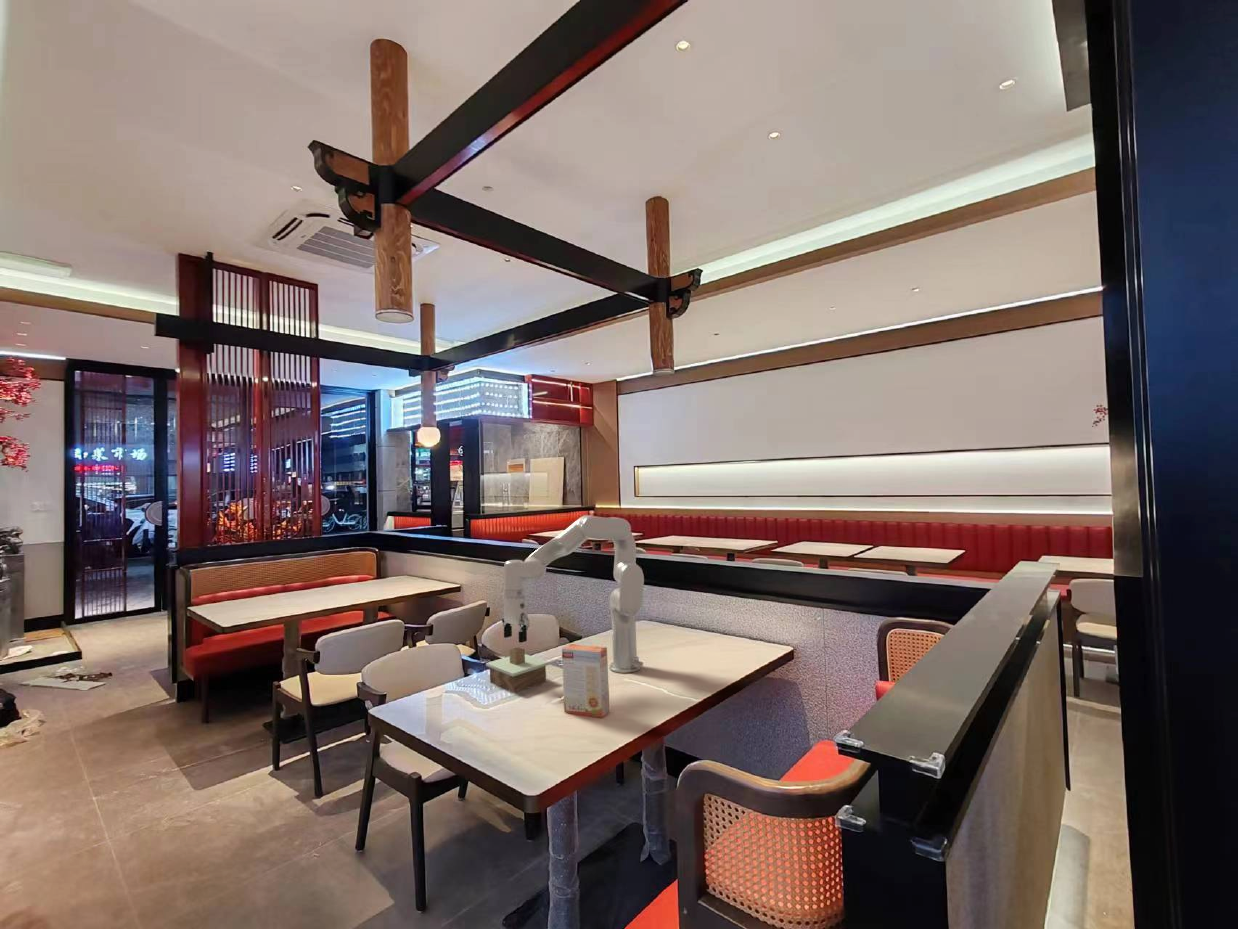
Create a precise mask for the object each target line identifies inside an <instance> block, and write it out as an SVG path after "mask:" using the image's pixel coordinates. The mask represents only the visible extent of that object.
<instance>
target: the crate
mask: <svg viewBox="0 0 1238 929" xmlns="http://www.w3.org/2000/svg"><path fill="white" fill-rule="evenodd" d="M546 667H547V666H544V667H541V668H538V669H535V670H532V671H528V672H525V673H522V674H519V675H516V676H510V675H508V674H505V673H503V672H500V671H498V670H495V669H493V668H490V667H489V683H491V684H493V685H495V686H498V687H500V688H502V689H505V690H506V691H509V692H512V693H514V694H515V693H518V692H521V691H524V690H527V689H529V688H531V687H532V688H533V687H535V686H538V685H540V684H543V683H547V672H546V669H547V668H546Z"/></svg>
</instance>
